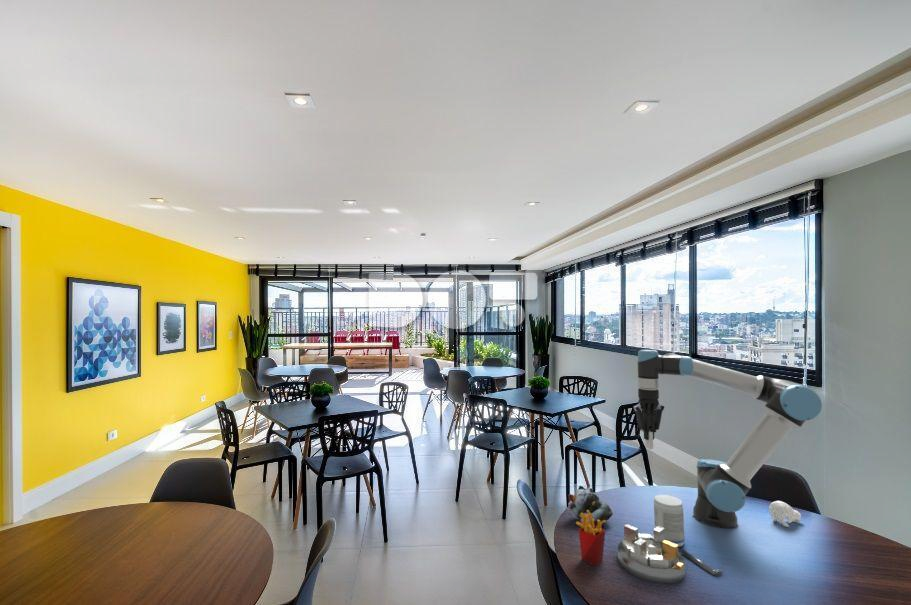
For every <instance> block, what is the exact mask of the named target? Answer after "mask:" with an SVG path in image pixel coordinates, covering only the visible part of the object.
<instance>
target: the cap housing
mask: <svg viewBox="0 0 911 605" xmlns="http://www.w3.org/2000/svg"><path fill="white" fill-rule="evenodd" d="M643 540H645V541H646V546H647V552H646V553H647V554H649V555H665V554H663V550H662V546H661V545H660V544H659V543H657V542H655V541H653V540H648V539H643ZM617 560H618V562H619V564H620V566H622V567H623V569H625V570H626V571H627V572H629V573H630V574H632V575H633V576H636V577H638V578H640V579H643V580H645V581H649V582H653V583H658V584H674V583H678V582H680V581H682V580H683V579H684V577H685V576H686V562H685V561H686V560H685V559H684V557H683V556H682V555H681V553H679V562H678V563H677V564H675V565H674V566H673V567H672V568H670V567H669V569H666V568H651V567H650V566H645V565H643V564H641V563H639V562H637V561H635V560H632V559H630V557H628V555H627V553H626V552H625V550H624V548H623V540H622V541H620V542H619V543H618V545H617Z"/></svg>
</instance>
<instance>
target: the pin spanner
mask: <svg viewBox="0 0 911 605" xmlns="http://www.w3.org/2000/svg"><path fill="white" fill-rule="evenodd" d="M680 552H681V553H680V554H682V555H683V556H685V558H688V559H689V560H690V561H691V562H694V564H696V566H697V565H698V566H699V567H701V569H703V570H704V571H706V572H707V573H709V574H710V575H712V576H714V577H715V576H716V577H718V576H719V577H720V576H723V570H722V569H721V568H718V569H714V568H712V567H710V566H709V565H708V564H706V563H705V562H703V561H702V560H700V559H699V558H698V557H696V556H694V555H693V554H691V553H690V552H688V551H687V550H686V549H684V548H683V549H681V550H680Z"/></svg>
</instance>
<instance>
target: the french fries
mask: <svg viewBox="0 0 911 605" xmlns="http://www.w3.org/2000/svg"><path fill="white" fill-rule="evenodd" d="M587 513H588V514H587V515H586V516H585V514H583V513H581V515H580V517H581V518H582V522H581V521H576V522H575V524H576V525H577V526H578V527H580V528H579V529H578V536H579V537H578V538H579V546H580V552H581V554H580V555H581V560H582V561H584V562H585V563H586V562H587V563H589V564H590V565H593V566H595V567H596V566H597V565H599V564H600V563H601V562H602V561H603V559H604V558H603V557H604V546H605V536H606V529H604V528H602V526H601V524H602V523H603V524H604V523H606V522H607V521H605V520H603V521H601V522H600V520H597V522H598V525H597V526H594V519H593V516H592V515H591V513H590V511H589V510H587ZM588 517H589V518H588ZM588 519H590V522H589V520H588Z"/></svg>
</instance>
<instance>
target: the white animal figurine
mask: <svg viewBox="0 0 911 605" xmlns="http://www.w3.org/2000/svg"><path fill="white" fill-rule="evenodd" d="M768 509H769V510H768V511H769V514H770V517H771V519H772V520H773V521H774V522H779V523H780V524H781V525H782V526H784V527H786V528H788V527H790V525H789V524H790V523H792V522H793V523H799V522H801V519H802V515H801V513H800V512H799V511H798V510H795V509H793V507H792V506H791V505H790V504H788V503H787V502H784V501H782V500H775V501H772V502H770V505H769V506H768ZM785 520H787V522H786V521H785Z"/></svg>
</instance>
